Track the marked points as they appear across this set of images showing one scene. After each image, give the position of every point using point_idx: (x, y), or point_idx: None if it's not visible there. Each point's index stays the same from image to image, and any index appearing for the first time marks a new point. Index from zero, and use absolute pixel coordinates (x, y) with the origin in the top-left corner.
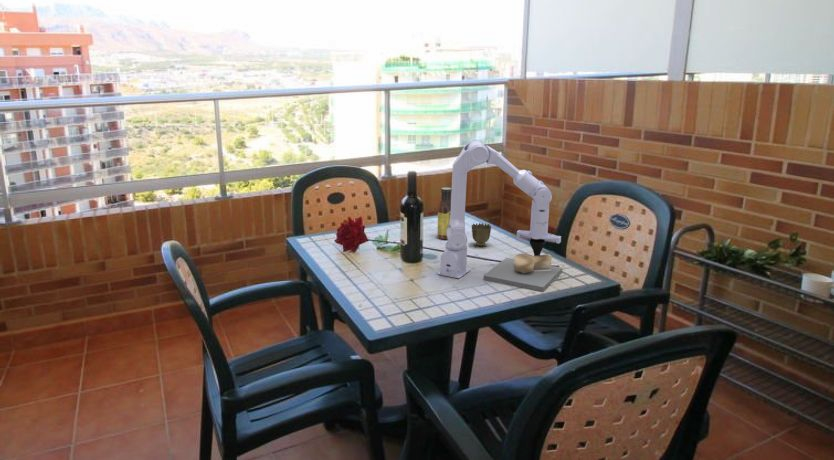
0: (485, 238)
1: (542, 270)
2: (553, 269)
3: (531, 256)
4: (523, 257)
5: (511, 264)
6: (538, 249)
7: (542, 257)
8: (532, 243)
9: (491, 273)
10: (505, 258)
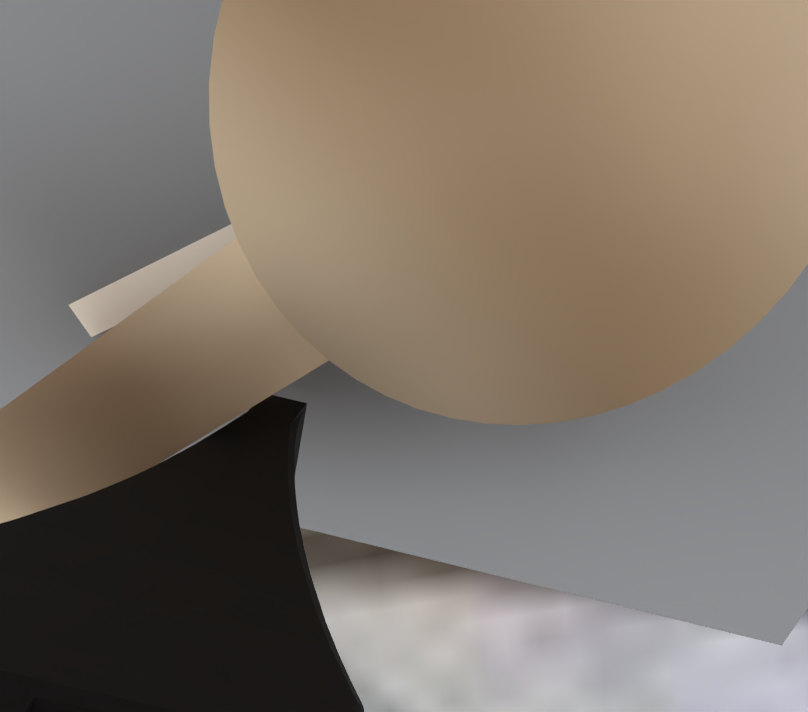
0: None
1: (195, 261)
2: (63, 357)
3: (322, 275)
4: (555, 101)
5: (720, 411)
6: (92, 515)
7: (78, 356)
8: (208, 692)
9: None
10: (798, 618)
